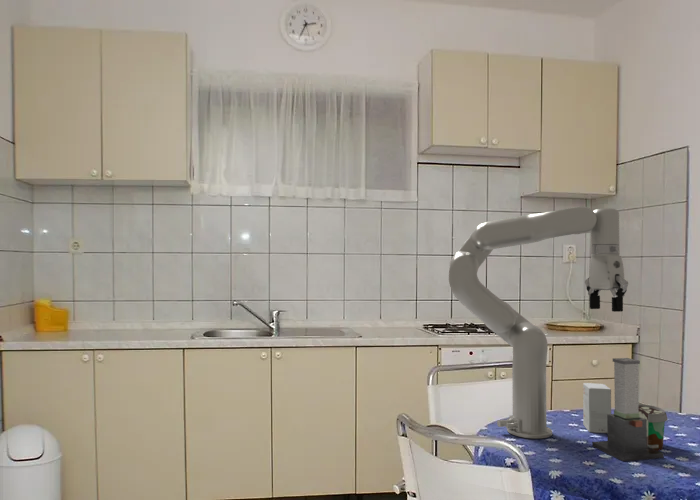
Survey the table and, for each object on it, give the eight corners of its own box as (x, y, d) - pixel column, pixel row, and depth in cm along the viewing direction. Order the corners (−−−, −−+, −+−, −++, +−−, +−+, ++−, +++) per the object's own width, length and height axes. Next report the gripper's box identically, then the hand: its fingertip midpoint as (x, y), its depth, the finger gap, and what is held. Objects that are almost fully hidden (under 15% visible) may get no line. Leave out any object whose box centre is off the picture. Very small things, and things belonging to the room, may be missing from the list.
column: (625, 426, 146) (624, 361, 146) (613, 421, 150) (612, 358, 151) (640, 425, 147) (639, 360, 147) (627, 420, 151) (627, 357, 152)
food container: (675, 454, 147) (674, 415, 147) (649, 452, 148) (649, 414, 148) (659, 440, 159) (658, 404, 159) (635, 438, 160) (635, 403, 160)
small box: (612, 433, 165) (611, 389, 165) (589, 432, 166) (588, 388, 166) (604, 426, 172) (604, 383, 173) (582, 424, 174) (582, 382, 174)
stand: (623, 461, 141) (622, 424, 141) (592, 446, 153) (592, 412, 153) (663, 457, 144) (663, 421, 144) (630, 443, 155) (629, 409, 156)
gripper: (637, 250, 156) (638, 312, 155) (597, 252, 173) (597, 307, 172) (614, 250, 154) (615, 312, 154) (575, 251, 171) (575, 308, 170)
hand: (605, 310), depth 163 cm, fingers open, 9 cm apart
